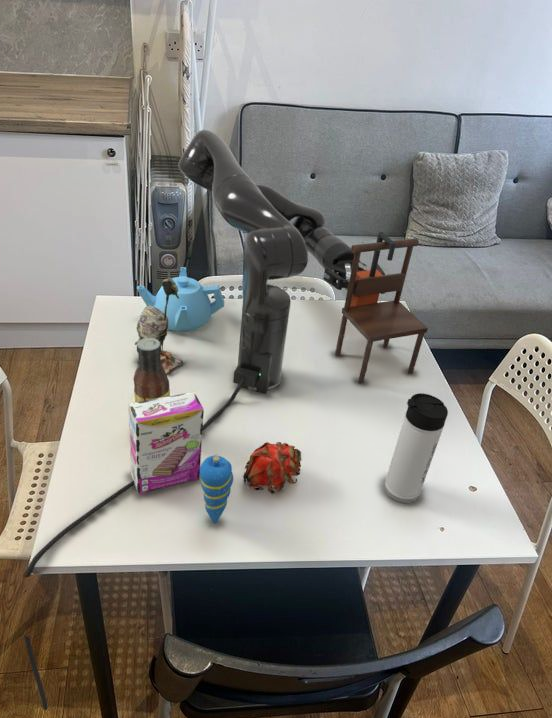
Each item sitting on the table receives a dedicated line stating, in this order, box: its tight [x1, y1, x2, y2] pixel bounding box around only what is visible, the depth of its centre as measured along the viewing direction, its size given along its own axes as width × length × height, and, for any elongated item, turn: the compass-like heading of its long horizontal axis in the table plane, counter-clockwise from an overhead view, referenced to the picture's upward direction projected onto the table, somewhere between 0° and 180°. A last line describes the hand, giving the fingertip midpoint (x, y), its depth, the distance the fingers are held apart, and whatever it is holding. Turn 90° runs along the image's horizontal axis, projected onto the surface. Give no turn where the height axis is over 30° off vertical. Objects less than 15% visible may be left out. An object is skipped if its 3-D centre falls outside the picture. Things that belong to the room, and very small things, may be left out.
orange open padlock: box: [350, 231, 396, 307], centre depth 135 cm, size 8×6×19 cm
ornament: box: [199, 455, 234, 524], centre depth 99 cm, size 5×5×15 cm
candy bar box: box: [128, 391, 205, 495], centre depth 105 cm, size 11×5×16 cm, turn 114°
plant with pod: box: [133, 277, 185, 374], centre depth 130 cm, size 8×11×20 cm
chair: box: [334, 237, 429, 385], centre depth 134 cm, size 12×15×27 cm
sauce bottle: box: [133, 338, 171, 403], centre depth 113 cm, size 7×6×20 cm
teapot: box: [136, 266, 225, 333], centre depth 147 cm, size 15×15×11 cm
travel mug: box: [383, 392, 449, 504], centre depth 106 cm, size 6×7×20 cm
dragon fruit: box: [242, 441, 303, 495], centre depth 109 cm, size 8×8×12 cm
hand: (372, 291), depth 138 cm, fingers closed on orange open padlock, 5 cm apart
